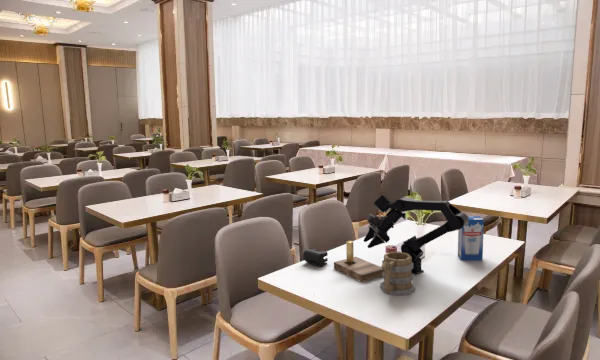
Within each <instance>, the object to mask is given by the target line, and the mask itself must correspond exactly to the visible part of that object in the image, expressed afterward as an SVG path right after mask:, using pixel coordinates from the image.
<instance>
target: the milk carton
mask: <svg viewBox="0 0 600 360" xmlns="http://www.w3.org/2000/svg"><path fill="white" fill-rule="evenodd" d="M467 216H468V215H467ZM468 218H469V221H468V224H467V225H465V226H464V227H463V228H461V229H459V230H457V232H458V233H457V235H458V236H457V257H458V259H459V260H460V261H463V262H464V261H470V262H471V261H473V262H474V261H476V262H477V261H481V262H482V261H483V257H484V255H483V253H484V229H485V228H484V227H485V226H484V225H485V219H484V218H482V217H481V216H480V215H479V216H473V215H471V216H468Z"/></svg>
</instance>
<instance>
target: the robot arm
mask: <svg viewBox="0 0 600 360" xmlns="http://www.w3.org/2000/svg"><path fill="white" fill-rule="evenodd" d="M373 205H374V207H375V208H377V209H378V210H379V211H380V213H383V214H384V213H385V215H384V216H383V215H382V216H380V217H379V215H378V216H377V215H374V214H371V213H368V215H367V217H366V221H367V222H368V225H367V226H368V230H367V233H366V235H365V236H364V238H363V243H366V242H369V241H370V242H369V243H368V245H367V249H371V248H374V247H377V246H379V245H382V244H385V243H386V244H387V243H389V241H391V240H390V236H389V235H388V232H389V231H390V229H394V228H395V227H394V226H395V225H396V224H397V222H398V221H400V219H401V218H402V219H403V220H406V219H407V218H406V214H407V212H410V211H432V212H433V211H438V212H441V213H442V215H443V216H444V217H445V220H446V221H445V222H444V223H443V224H442V225H440V226H438V227H435V228H434V229H433V230H431V231H429V232H426V234H424V235H422V236H420V237H417V235H413V236H412V237H410V238H407V239H406V240H404V241H403V242H402V244H401V246H400V252H403V253H407V254H409V255H410V256H411V257H412V262H413V269H412V274H413V275H416V274H421V273H423V272H424V269H422V257H423V255H424V250H422V249H421V248H422V247H423V246H425V245H427V244H428V243H431V242H433V241H434V240H436V239H438V238H440V237H443V235H445V234H447V233H451V232H455V231H458V230H459V229H461V228H463V227H464V226H465V225H467V224H468V221H469V218H468V215H467V214H466V213H464V212H462V210H460V209H458V208H457V207H455V206H454V205H453V204H452V203H451V202H450V201H448V200H421V199H420V200H419V199H414V198H411V197H406V196H404V197H401V198H399V199H398V198H397V200H394V201H392V200H390V199H389V198H388V196H387V195H386V194H384V193H383V194H381V196H379V197H378V198H377V199H376V200H375V201H374V203H373Z"/></svg>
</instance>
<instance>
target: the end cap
mask: <svg viewBox="0 0 600 360" xmlns="http://www.w3.org/2000/svg"><path fill="white" fill-rule="evenodd" d="M325 257H326V258H325ZM302 258H303V260H304V261H305V262H306V263H308V264H312V265H314V266H319V267H324V266H326V264H327V265H328V262H329V261H328V260H329V259H328V251H326V250H321V251H319V249H317V248H311V249H308V248H306V249H305V250H304V252H303V255H302Z"/></svg>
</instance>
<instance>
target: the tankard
mask: <svg viewBox="0 0 600 360" xmlns="http://www.w3.org/2000/svg"><path fill="white" fill-rule="evenodd" d="M380 267H382V269H384V272H382V276H381V278H382V279H383V281H382V282H381V283H380V288H381V290H382V291H383V293H384V294H385V293H386V294H390V295H393V296H407V295H410V294H412V293H414V291H415V290H416V286H415V285H414V284H413V283H412V281H413V280H414V274H412V269H413V262H412V257H411V256H410V255H409V254H407V253H403V252H402V251H390V252H387V253H385V254H383V260H382V263H381V266H380Z"/></svg>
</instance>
